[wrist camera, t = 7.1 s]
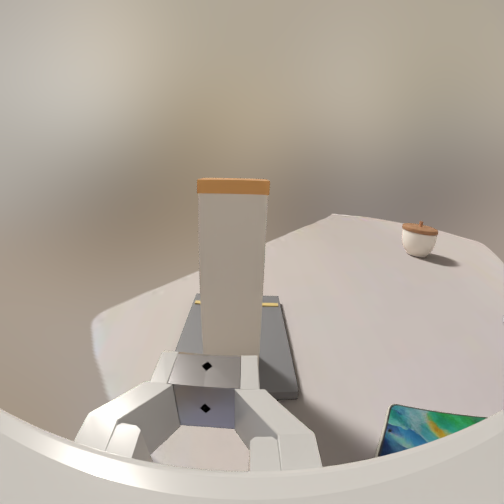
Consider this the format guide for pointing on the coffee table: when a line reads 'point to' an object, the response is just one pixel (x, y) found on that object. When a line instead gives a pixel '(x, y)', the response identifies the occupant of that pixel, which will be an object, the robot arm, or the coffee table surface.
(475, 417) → the smartphone
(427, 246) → the lidded jar
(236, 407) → the robot arm
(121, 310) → the coffee table surface
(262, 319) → the board
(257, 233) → the fader tab
